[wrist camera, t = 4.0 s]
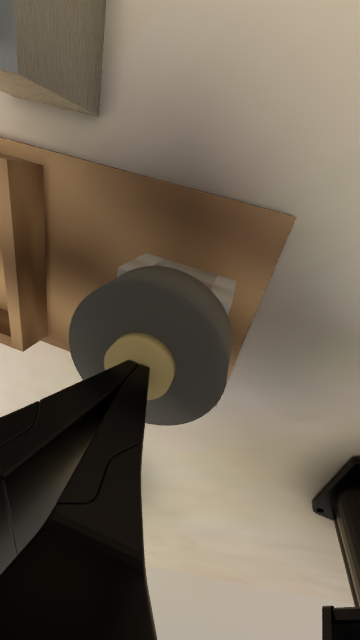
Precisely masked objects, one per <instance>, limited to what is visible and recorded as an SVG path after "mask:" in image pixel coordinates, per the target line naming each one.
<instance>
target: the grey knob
mask: <svg viewBox="0 0 360 640" xmlns="http://www.w3.org/2000/svg"><path fill="white" fill-rule="evenodd" d="M69 347H70V352H71V356H72V359H73V362H74V364H75V366H76V369H77V371H78V372H79V374H80V376H81V378H82V379H83V380H85V379H87V378H89V377H92V376H94V375H96V374H98V373H100V372H103V371H105V370H107V369H109V368H111V367H113V366H116V365H118V364H120V363H122V362H124V361H127V360H132V361H135V362H137V363H139V364H143V365H145V366H148V367H150V375H149V386H148V396H147V407H146V417H145V423H148V424H154V425H167V426H168V425H179V424H184V423H188V422H191V421H194V420H196V419H198V418H200V417H202V416H203V415H205V414H206V413H208V412H209V411H210V410H211V409H212V408H213V407H214V406H215V405H216V404H217V402H218V401H219V400H220V398H221V396H222V394H223V392H224V389H225V386H226V382H227V375H228V369H229V362H230V356H231V349H232V329H231V324H230V321H229V317H228V315H227V313H226V311H225V309H224V307H223V305H222V304H221V302H220V301H219V299H218V298H217V297H216V295H215V294H214V293H213V292H212V291H211V290H210V289H209V288H208V287H207V286H206V285H205V284H203V283H202V282H200V281H199V280H198V279H196V278H195V277H193V276H191V275H189V274H187V273H185V272H182V271H180V270H177V269H173V268H169V267H163V266H145V267H140V268H136V269H133V270H130V271H128V272H126V273H124V274H122V275H120V276H119V277H117V278H115V279H113V280H112V281H110V282H108V283H106V284H105V285H103V286H101V287H100V288H98V289H96V290H94V291H93V292H91V293H90V294H89V295H87V296H86V297H85V298H84V299H83V300H82V301H81V302H80V304H79V305H78V307H77V308H76V310H75V312H74V314H73V316H72V319H71V323H70V326H69Z"/></svg>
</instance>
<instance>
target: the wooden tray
mask: <svg viewBox="0 0 360 640" xmlns="http://www.w3.org/2000/svg"><path fill="white" fill-rule="evenodd" d="M295 219H296V217H294V216H291V215H288V214H284V213H280V212H276V211H273V210H269V209H265V208H262V207H258V206H254V205H250V204H247V203H243V202H239V201H236V200H232V199H228V198H224V197H221V196H217V195H213V194H210V193H206V192H202V191H198V190H195V189H191V188H187V187H184V186H180V185H176V184H172V183H169V182H165V181H161V180H158V179H154V178H150V177H146V176H143V175H139V174H135V173H132V172H128V171H124V170H120V169H117V168H113V167H109V166H106V165H102V164H98V163H94V162H91V161H87V160H83V159H80V158H76V157H72V156H68V155H65V154H61V153H57V152H54V151H50V150H46V149H42V148H39V147H35V146H31V145H28V144H24V143H20V142H16V141H13V140H9V139H5V138H2V137H0V343H2V344H5V345H7V346H10V347H12V348H15V349H18V350H20V351H25V350H26V349H28V348H29V347H31V346H32V345H34V344H35V343H37V342H38V341H40V340H41V341H43V342H46V343H49V344H51V345H54V346H57V347H59V348H62V349H65V350H67V351H70V347H69V326H70V323H71V319H72V316H73V314H74V312H75V310H76V308H77V307H78V305H79V304H80V302H81V301H82V300H83V299H84V298H85V297H86V296H87V295H89V294H90V293H91V292H93V291H94V290H96V289H98V288H100V287H101V286H103V285H105V284H106V283H108V282H110V281H112V280H113V279H115V278H117V277H119V276H120V275H122V274H124V273H126V272H128V271H130V270H133V269H136V268H140V267H145V266H163V267H169V268H173V269H177V270H180V271H182V272H185V273H187V274H189V275H191V276H193V277H195V278H196V279H198V280H199V281H200V282H202V283H203V284H205V285H206V286H207V287H208V288H209V289H210V290H211V291H212V292H213V293H214V294H215V295H216V297H217V298H218V299H219V301H220V302H221V304H222V305H223V307H224V309H225V311H226V313H227V315H228V317H229V321H230V324H231V329H232V349H231V356H230V362H229V369H228V375H227V379H228V377H229V374H230V372H231V370H232V367H233V365H234V363H235V360H236V358H237V356H238V353H239V351H240V349H241V346H242V344H243V342H244V339H245V337H246V334H247V332H248V330H249V327H250V325H251V323H252V320H253V318H254V316H255V313H256V311H257V309H258V306H259V304H260V302H261V299H262V297H263V295H264V292H265V290H266V287H267V285H268V283H269V280H270V278H271V276H272V273H273V271H274V269H275V266H276V264H277V262H278V259H279V257H280V255H281V252H282V250H283V247H284V245H285V243H286V240H287V238H288V236H289V233H290V231H291V229H292V226H293V224H294V222H295ZM217 403H218V402H217ZM216 405H217V404H216ZM216 405H215V406H216Z"/></svg>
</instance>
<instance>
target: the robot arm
mask: <svg viewBox="0 0 360 640" xmlns="http://www.w3.org/2000/svg"><path fill="white" fill-rule="evenodd" d="M149 375H150V367H148V366H145V365H143V364H139V363H137V362H135V361H132V360H127V361H124V362H122V363H120V364H118V365H116V366H113V367H111V368H109V369H107V370H105V371H103V372H100V373H98V374H96V375H94V376H92V377H89V378H87V379H85V380H83V381H81V382H79V383H76V384H74V385H72V386H70V387H68V388H65V389H63V390H61V391H59V392H57V393H55V394H52V395H50V396H48V397H46V398H44V399H42V400H40V402H39V401H37V402H35V403H33V404H30V405H28V406H26V407H24V408H21V409H19V410H17V411H14V412H12V413H10V414H8V415H5V416H3V417H0V640H157V636H156V630H155V624H154V619H153V613H152V608H151V602H150V596H149V591H148V585H147V578H146V569H145V558H144V541H143V520H142V498H141V464H142V450H143V439H144V428H145V417H146V407H147V396H148V386H149ZM312 508H313V511H314V512H315V513H317V514H319V515H321V516H324V517H326V518H329V519H331V520H334V523H335V528H336V532H337V536H338V540H339V544H340V548H341V552H342V556H343V560H344V564H345V568H346V572H347V576H348V580H349V584H350V588H351V592H352V596H353V600H354V604H355V607H344V608H334V607H333V606H323V607H322V627H323V628H322V634H323V635H322V639H323V640H360V458H356V459H353V460H351V461H350V462H349V463H348V465H347V466H346V467H345V468H344V469H343V470H342V471H341V472H340V473H339V474H338V475H337V476H336V477H335V478H334V480H333V481H332V482H331V483H330V484H329V485H328V486H327V487H326V488H325V489H324V490H323V491H322V492H321V494H320V495H319V496H318V497H317V498H316V499H315V500H314V501H313V502H312Z"/></svg>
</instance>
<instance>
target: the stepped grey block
mask: <svg viewBox="0 0 360 640" xmlns="http://www.w3.org/2000/svg"><path fill="white" fill-rule="evenodd" d="M105 7H106V0H0V91H3V92H5V93H7V94H10V95H12V96H16V97H20V98H25V99H29V100H33V101H37V102H41V103H45V104H49V105H53V106H58V107H62V108H66V109H70V110H74V111H78V112H82V113H86V114H91V115H95V116H99V107H100V90H101V73H102V57H103V40H104V23H105Z"/></svg>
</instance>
